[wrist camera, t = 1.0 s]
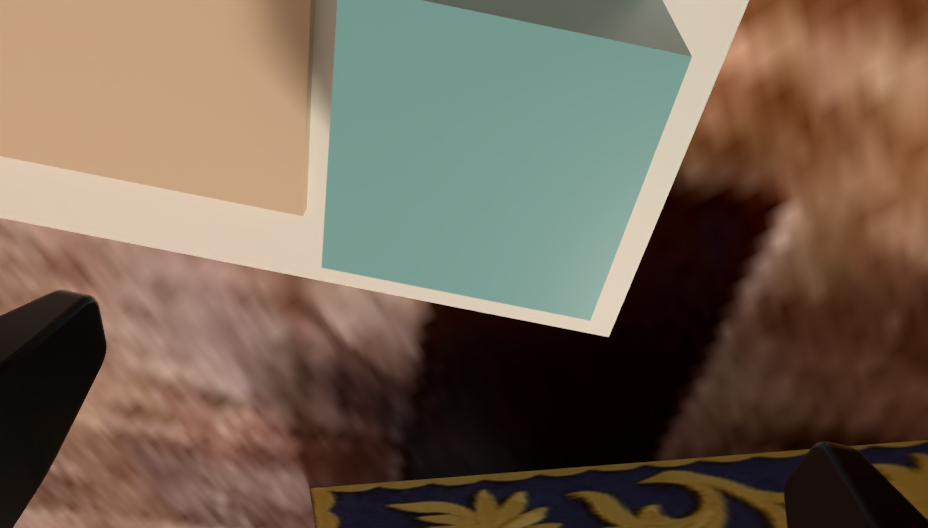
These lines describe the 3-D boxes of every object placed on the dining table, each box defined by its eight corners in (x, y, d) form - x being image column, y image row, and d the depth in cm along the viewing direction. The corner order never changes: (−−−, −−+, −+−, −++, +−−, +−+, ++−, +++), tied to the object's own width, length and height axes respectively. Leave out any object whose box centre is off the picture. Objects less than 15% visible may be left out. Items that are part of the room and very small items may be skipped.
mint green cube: (658, -7, 14) (691, 56, 11) (581, 222, 18) (590, 320, 15) (384, -65, 14) (338, -17, 11) (361, 178, 18) (321, 267, 15)
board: (811, -213, 14) (923, -207, 10) (604, 306, 22) (619, 426, 18) (-135, -423, 13) (-436, -508, 9) (22, 191, 21) (-98, 288, 17)
